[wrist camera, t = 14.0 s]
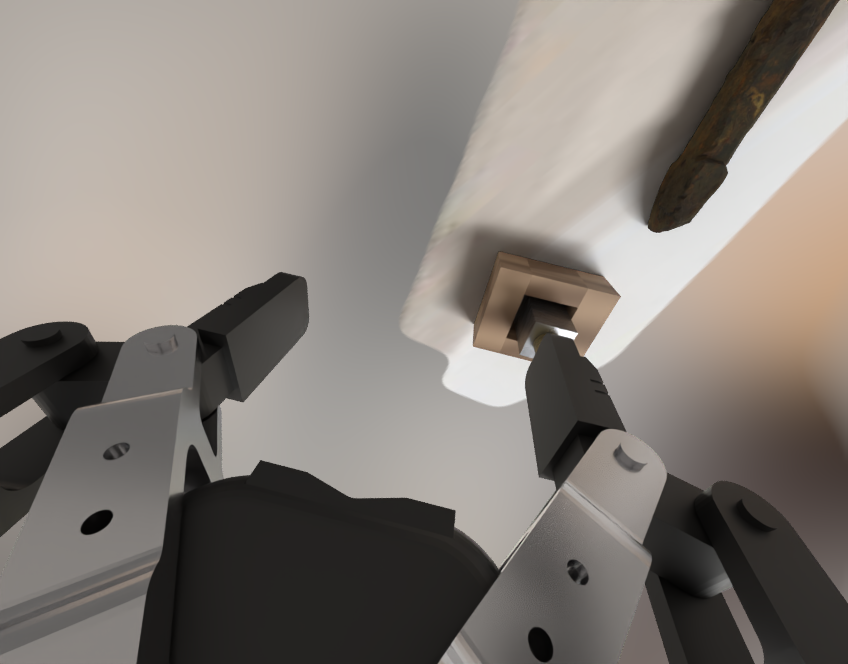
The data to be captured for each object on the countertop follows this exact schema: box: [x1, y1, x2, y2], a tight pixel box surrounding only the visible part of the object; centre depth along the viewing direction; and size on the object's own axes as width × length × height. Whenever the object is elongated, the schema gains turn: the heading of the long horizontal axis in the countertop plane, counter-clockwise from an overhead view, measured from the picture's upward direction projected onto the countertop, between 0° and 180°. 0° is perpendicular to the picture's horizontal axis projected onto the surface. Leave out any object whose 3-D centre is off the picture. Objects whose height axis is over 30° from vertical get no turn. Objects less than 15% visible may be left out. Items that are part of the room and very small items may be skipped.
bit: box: [514, 295, 578, 358], centre depth 32 cm, size 4×4×12 cm
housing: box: [473, 252, 621, 361], centre depth 35 cm, size 10×12×5 cm
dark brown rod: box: [648, 0, 839, 233], centre depth 24 cm, size 19×4×5 cm, turn 165°
